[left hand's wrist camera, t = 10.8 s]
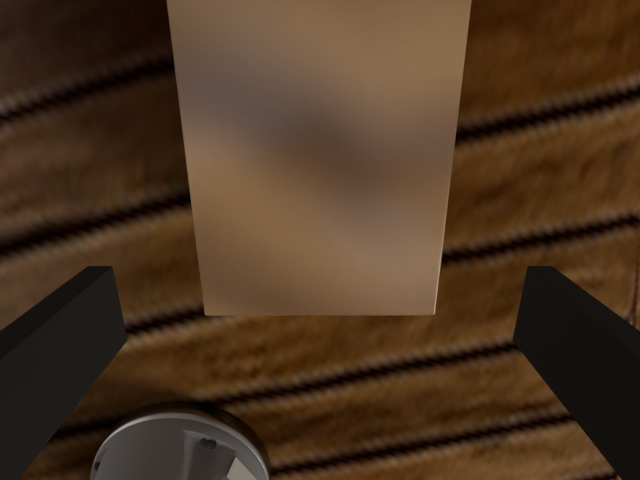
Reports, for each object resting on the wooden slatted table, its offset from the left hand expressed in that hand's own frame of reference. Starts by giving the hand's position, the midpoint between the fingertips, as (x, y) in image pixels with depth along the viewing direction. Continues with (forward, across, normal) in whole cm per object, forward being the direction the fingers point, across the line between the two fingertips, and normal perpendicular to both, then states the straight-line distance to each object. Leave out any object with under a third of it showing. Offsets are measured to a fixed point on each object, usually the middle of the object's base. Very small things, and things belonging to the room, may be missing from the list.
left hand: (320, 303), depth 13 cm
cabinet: (+15, 0, -5) cm, 16 cm away
